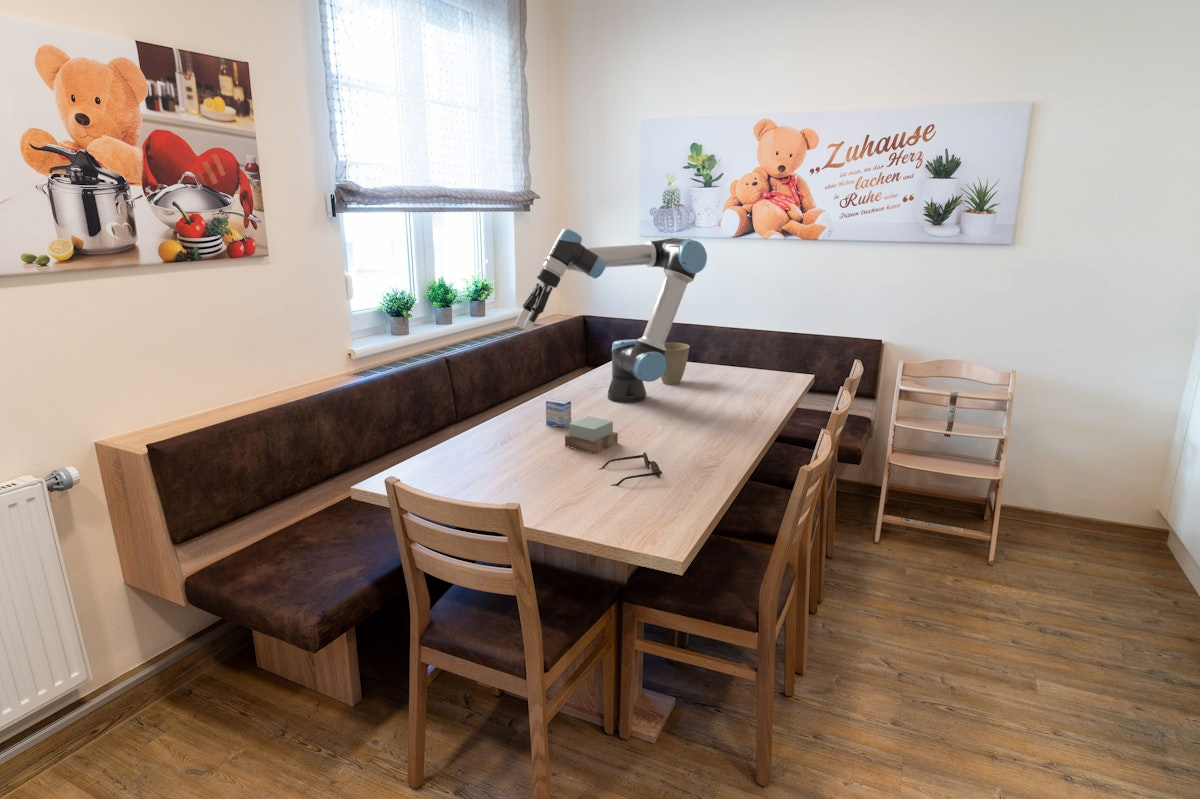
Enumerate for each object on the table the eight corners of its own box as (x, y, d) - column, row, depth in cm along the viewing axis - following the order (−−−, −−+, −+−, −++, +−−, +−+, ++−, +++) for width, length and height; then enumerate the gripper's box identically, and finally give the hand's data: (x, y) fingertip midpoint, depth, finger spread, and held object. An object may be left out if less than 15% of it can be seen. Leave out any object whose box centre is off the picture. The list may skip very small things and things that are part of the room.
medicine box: (545, 424, 251) (545, 401, 248) (552, 421, 255) (551, 397, 252) (565, 428, 247) (564, 403, 245) (571, 424, 251) (571, 400, 249)
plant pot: (664, 376, 315) (665, 341, 311) (694, 381, 307) (695, 344, 303) (646, 384, 304) (647, 346, 299) (677, 389, 295) (678, 351, 291)
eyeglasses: (662, 482, 201) (662, 465, 200) (611, 488, 197) (611, 471, 196) (644, 464, 215) (644, 448, 214) (596, 469, 211) (596, 453, 210)
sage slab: (588, 427, 236) (588, 415, 235) (612, 433, 230) (612, 421, 229) (568, 435, 229) (568, 423, 228) (593, 441, 223) (593, 429, 222)
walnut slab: (588, 437, 239) (587, 426, 238) (617, 444, 232) (617, 432, 231) (565, 447, 230) (564, 435, 228) (595, 455, 223) (594, 443, 222)
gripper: (533, 267, 253) (505, 320, 253) (551, 267, 230) (519, 326, 230) (551, 277, 256) (523, 330, 256) (570, 279, 232) (539, 337, 233)
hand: (521, 328), depth 243 cm, fingers open, 13 cm apart
